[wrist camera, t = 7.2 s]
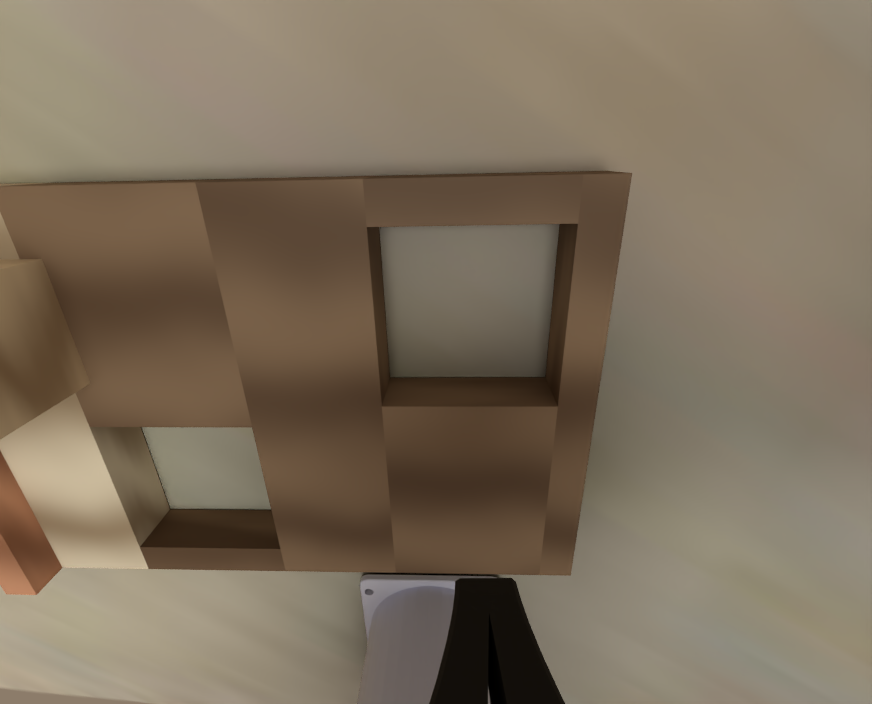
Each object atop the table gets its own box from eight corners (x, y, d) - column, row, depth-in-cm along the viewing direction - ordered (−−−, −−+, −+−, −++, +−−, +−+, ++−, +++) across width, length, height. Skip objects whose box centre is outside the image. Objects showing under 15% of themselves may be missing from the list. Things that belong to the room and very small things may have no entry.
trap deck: (558, 534, 23) (578, 604, 20) (73, 528, 24) (6, 594, 21) (606, 171, 16) (652, 174, 12) (-96, 185, 17) (-247, 193, 13)
